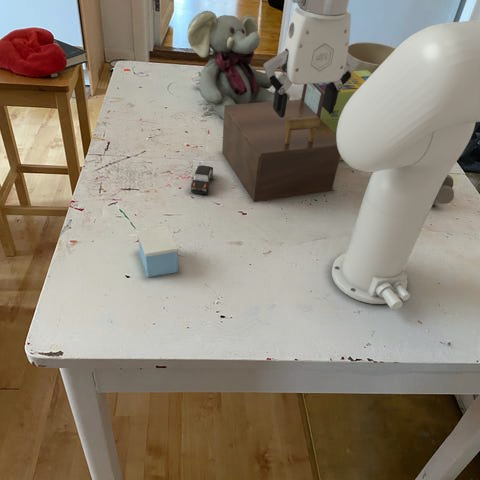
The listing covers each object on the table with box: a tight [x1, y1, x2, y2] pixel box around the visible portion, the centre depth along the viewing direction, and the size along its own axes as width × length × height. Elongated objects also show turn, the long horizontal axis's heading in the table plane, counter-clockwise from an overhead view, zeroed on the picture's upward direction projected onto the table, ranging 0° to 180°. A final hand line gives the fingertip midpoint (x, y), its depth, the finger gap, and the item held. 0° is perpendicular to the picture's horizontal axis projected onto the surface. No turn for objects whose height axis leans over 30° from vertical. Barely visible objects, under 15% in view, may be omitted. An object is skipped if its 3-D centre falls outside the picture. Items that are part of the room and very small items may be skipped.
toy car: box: [190, 129, 214, 195], centre depth 94 cm, size 4×12×8 cm, turn 172°
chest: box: [221, 109, 341, 203], centre depth 98 cm, size 20×18×10 cm
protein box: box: [301, 70, 372, 162], centre depth 105 cm, size 10×15×16 cm
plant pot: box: [345, 41, 397, 74], centre depth 117 cm, size 15×15×16 cm
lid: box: [224, 98, 338, 157], centre depth 92 cm, size 20×18×5 cm
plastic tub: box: [136, 225, 179, 278], centre depth 77 cm, size 6×5×5 cm
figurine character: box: [431, 174, 455, 208], centre depth 96 cm, size 7×8×15 cm
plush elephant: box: [186, 10, 291, 120], centre depth 116 cm, size 27×22×21 cm
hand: (303, 111), depth 85 cm, fingers open, 9 cm apart
